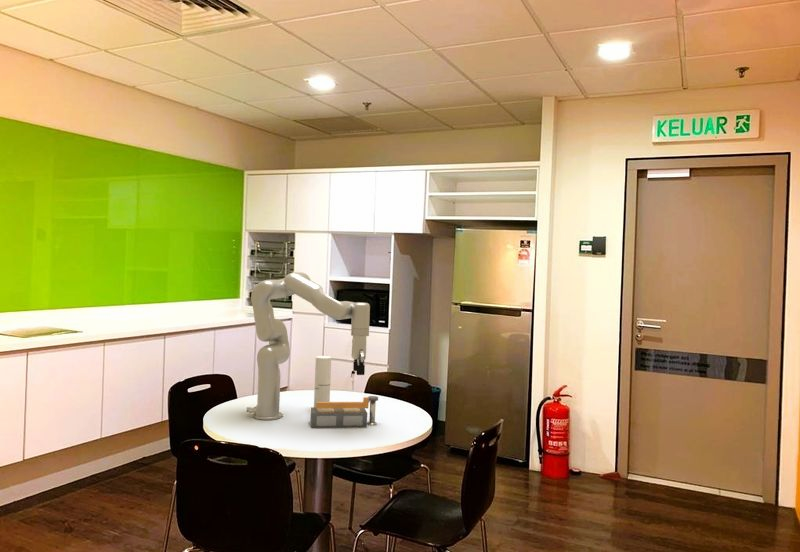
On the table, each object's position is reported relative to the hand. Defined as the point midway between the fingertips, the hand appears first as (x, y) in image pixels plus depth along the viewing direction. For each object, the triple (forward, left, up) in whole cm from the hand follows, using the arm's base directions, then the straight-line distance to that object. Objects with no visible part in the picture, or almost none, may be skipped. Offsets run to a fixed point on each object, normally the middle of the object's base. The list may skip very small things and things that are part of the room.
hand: (358, 372), depth 253 cm
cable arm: (-4, +5, -16) cm, 17 cm away
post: (+7, +5, -23) cm, 24 cm away
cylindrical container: (-13, +29, -23) cm, 39 cm away
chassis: (-7, +5, -23) cm, 24 cm away
